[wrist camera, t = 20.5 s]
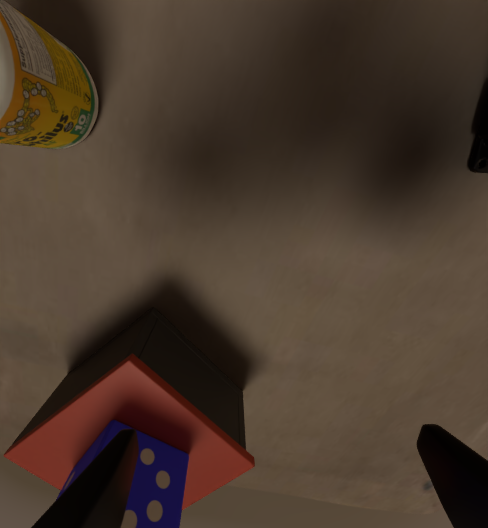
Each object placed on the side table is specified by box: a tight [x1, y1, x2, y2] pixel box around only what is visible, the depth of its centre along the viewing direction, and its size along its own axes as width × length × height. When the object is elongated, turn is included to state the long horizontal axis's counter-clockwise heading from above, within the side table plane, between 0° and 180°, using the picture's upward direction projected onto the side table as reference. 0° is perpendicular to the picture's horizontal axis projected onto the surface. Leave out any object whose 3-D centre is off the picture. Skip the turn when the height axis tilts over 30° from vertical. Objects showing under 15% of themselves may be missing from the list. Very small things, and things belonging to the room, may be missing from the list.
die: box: [56, 420, 189, 528], centre depth 14 cm, size 5×5×5 cm
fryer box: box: [12, 307, 246, 450], centre depth 19 cm, size 9×10×6 cm
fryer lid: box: [4, 354, 255, 510], centre depth 16 cm, size 10×10×1 cm
